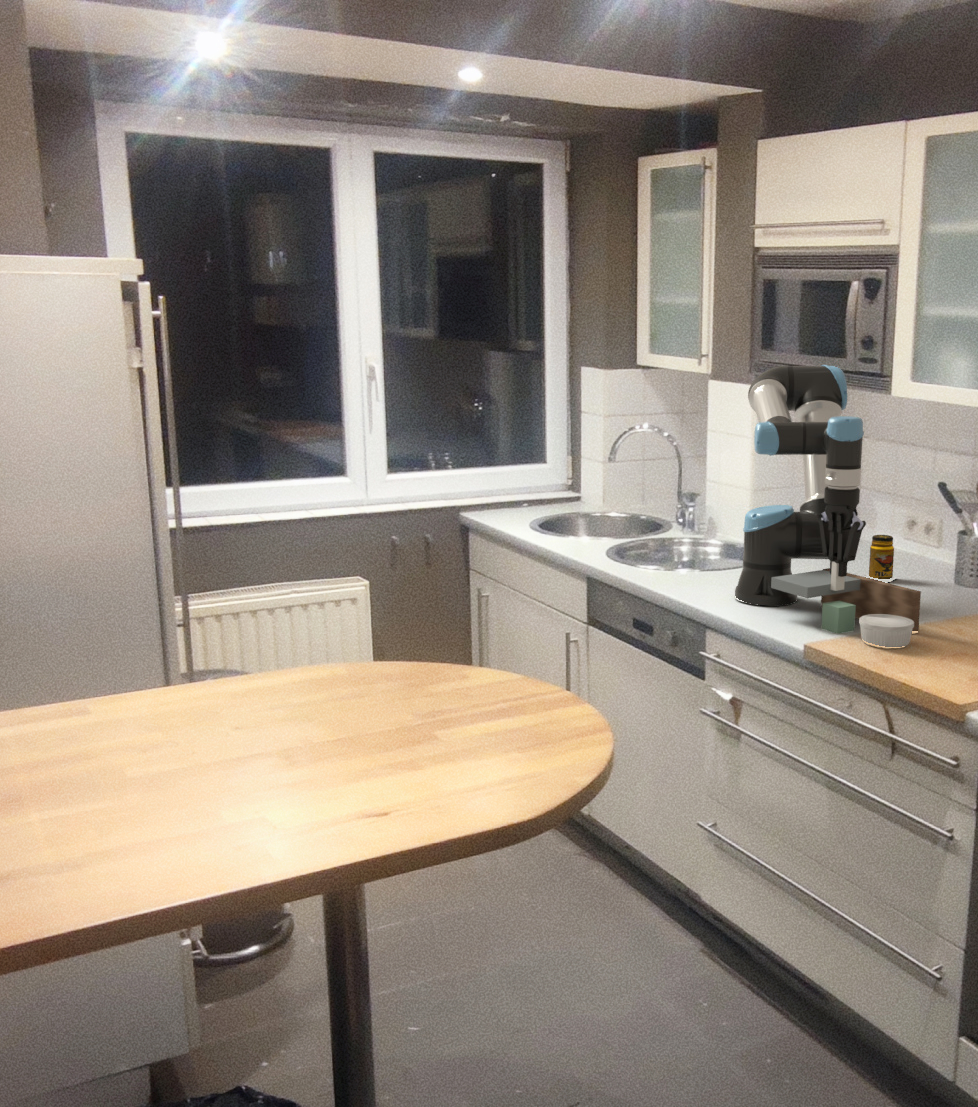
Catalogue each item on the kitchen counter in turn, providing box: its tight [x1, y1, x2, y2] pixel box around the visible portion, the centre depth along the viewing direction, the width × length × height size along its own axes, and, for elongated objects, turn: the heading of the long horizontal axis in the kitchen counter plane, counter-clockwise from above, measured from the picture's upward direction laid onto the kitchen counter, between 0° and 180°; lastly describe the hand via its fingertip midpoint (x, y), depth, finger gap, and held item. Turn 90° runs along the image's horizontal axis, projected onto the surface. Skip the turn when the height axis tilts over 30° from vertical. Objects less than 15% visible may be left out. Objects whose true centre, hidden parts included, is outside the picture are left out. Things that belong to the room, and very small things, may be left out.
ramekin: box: [858, 614, 914, 647], centre depth 237 cm, size 11×11×5 cm
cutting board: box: [820, 567, 922, 632], centre depth 256 cm, size 28×2×10 cm, turn 27°
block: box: [820, 601, 856, 635], centre depth 248 cm, size 5×5×6 cm
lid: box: [771, 569, 861, 599], centre depth 257 cm, size 12×16×2 cm
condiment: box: [868, 534, 895, 579], centre depth 295 cm, size 7×8×12 cm
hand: (837, 589), depth 251 cm, fingers closed
